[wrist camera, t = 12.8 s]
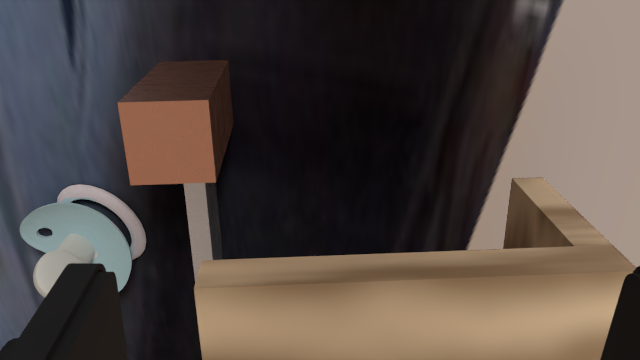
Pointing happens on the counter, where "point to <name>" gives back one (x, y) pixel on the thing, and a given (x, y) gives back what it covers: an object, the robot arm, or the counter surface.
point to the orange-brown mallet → (182, 140)
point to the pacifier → (82, 236)
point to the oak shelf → (425, 296)
